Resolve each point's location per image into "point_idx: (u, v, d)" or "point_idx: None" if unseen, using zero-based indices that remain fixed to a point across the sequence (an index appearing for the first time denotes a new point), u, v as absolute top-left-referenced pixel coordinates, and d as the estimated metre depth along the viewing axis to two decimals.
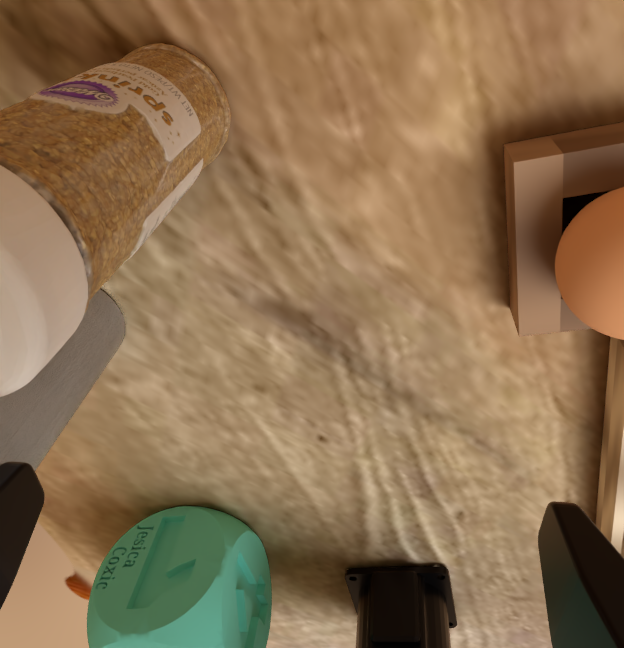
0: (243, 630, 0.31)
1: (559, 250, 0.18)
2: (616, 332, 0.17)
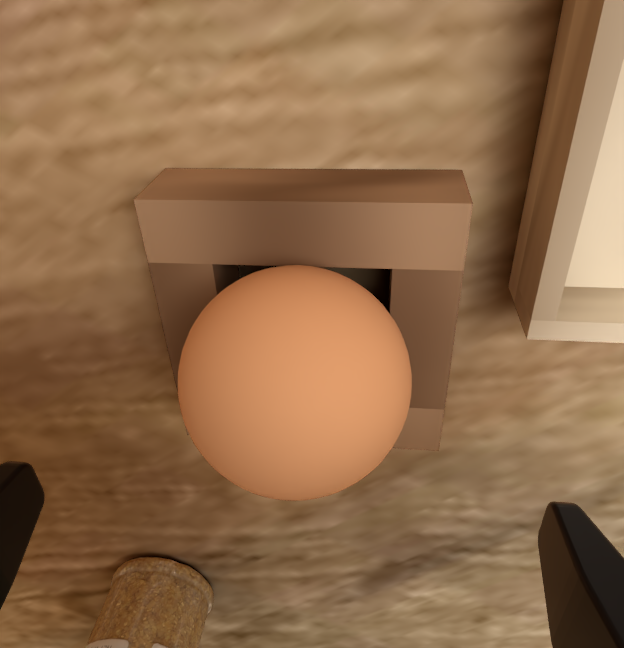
0: None
1: None
2: (349, 485, 0.11)
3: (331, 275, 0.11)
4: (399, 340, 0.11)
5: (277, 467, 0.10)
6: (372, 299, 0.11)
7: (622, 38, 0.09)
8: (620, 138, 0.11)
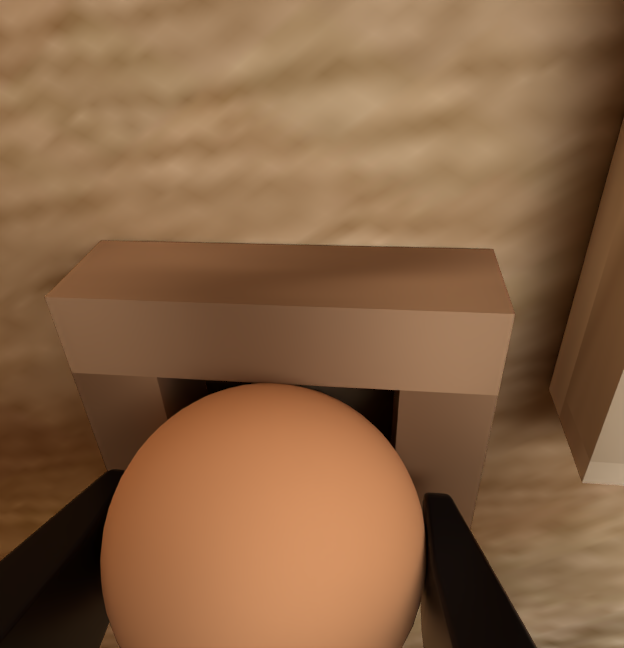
0: None
1: None
2: None
3: (315, 410, 0.08)
4: (410, 504, 0.08)
5: None
6: (372, 443, 0.08)
7: None
8: None
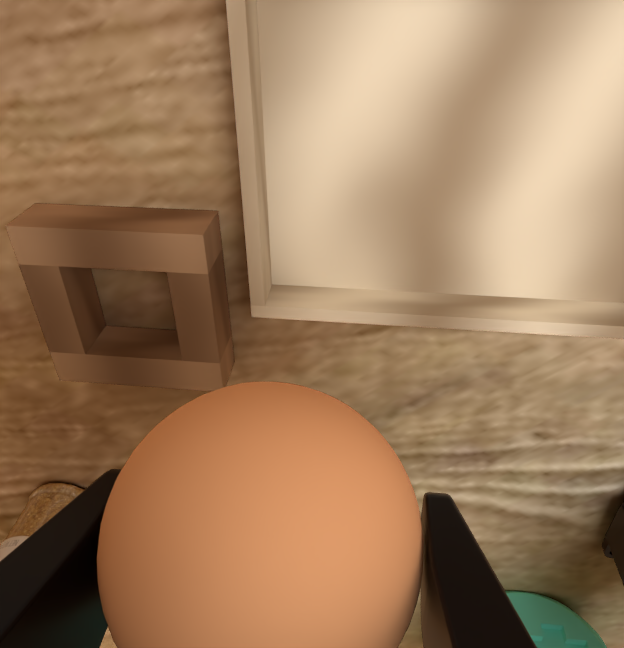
0: None
1: None
2: None
3: (311, 408, 0.08)
4: (407, 502, 0.08)
5: None
6: (369, 442, 0.08)
7: (252, 152, 0.16)
8: (293, 198, 0.18)
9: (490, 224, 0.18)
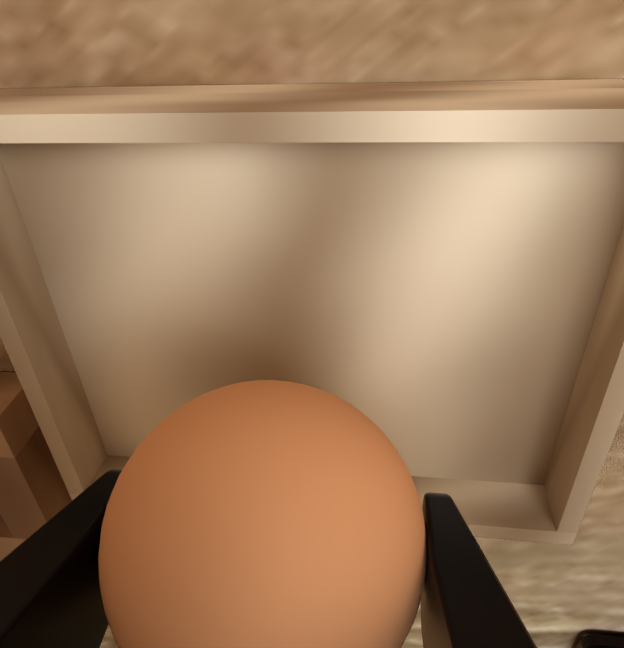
0: None
1: None
2: None
3: (314, 407, 0.08)
4: (410, 501, 0.08)
5: None
6: (372, 440, 0.08)
7: (20, 342, 0.13)
8: (107, 370, 0.15)
9: (348, 401, 0.15)
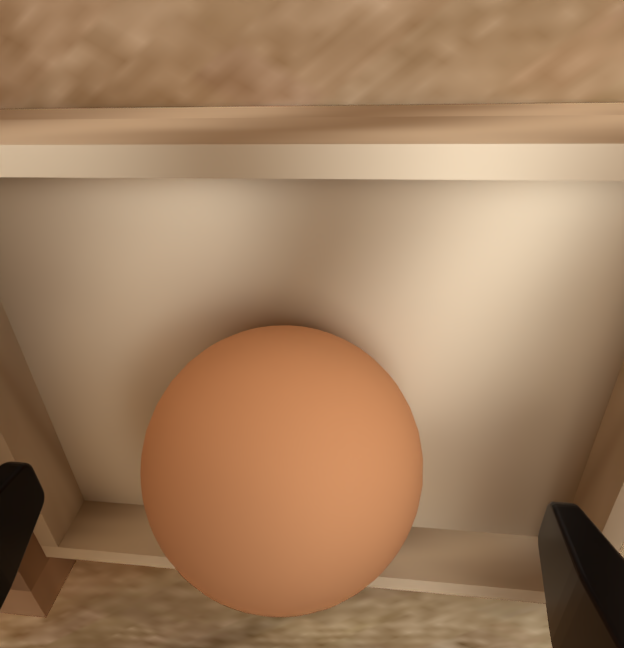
0: None
1: None
2: (348, 598, 0.09)
3: (326, 342, 0.09)
4: (408, 422, 0.09)
5: (259, 591, 0.08)
6: (375, 371, 0.09)
7: None
8: (81, 414, 0.14)
9: None
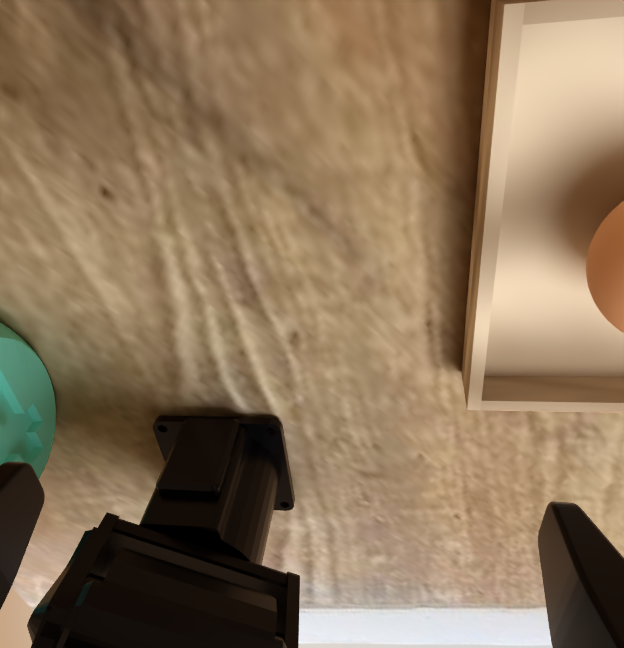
0: None
1: (597, 240, 0.16)
2: None
3: None
4: None
5: None
6: None
7: None
8: None
9: (570, 255, 0.19)
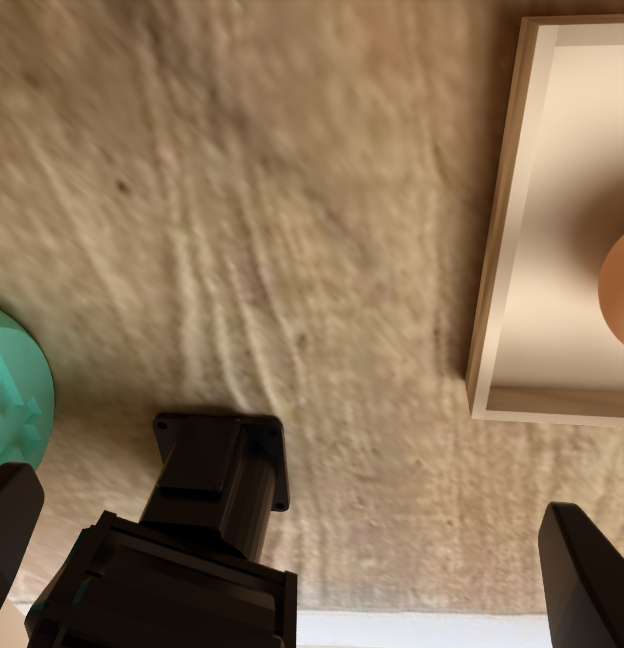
0: None
1: (612, 261, 0.17)
2: None
3: None
4: None
5: None
6: None
7: None
8: None
9: (581, 271, 0.20)
